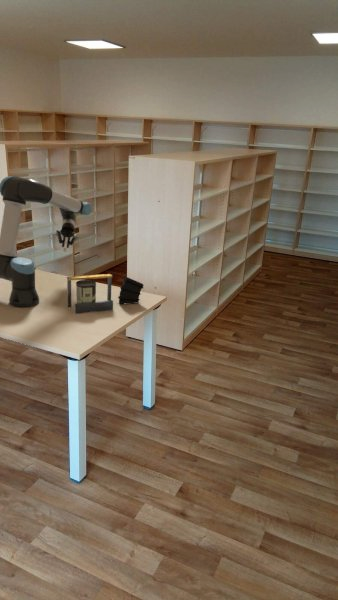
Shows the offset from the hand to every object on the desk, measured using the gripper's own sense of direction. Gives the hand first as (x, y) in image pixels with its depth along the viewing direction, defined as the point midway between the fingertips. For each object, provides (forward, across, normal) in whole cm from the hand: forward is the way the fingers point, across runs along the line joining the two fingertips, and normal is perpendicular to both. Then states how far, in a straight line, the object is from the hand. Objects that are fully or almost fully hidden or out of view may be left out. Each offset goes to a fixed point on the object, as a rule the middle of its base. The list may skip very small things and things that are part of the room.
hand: (64, 249), depth 244 cm
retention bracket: (+32, -18, -12) cm, 39 cm away
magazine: (+24, -40, -12) cm, 48 cm away
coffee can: (+32, -15, -13) cm, 38 cm away
